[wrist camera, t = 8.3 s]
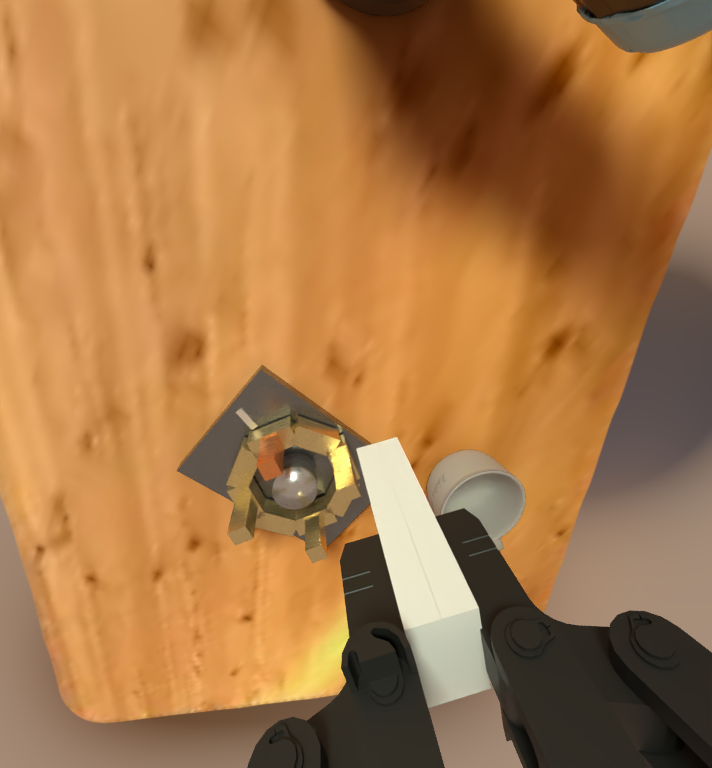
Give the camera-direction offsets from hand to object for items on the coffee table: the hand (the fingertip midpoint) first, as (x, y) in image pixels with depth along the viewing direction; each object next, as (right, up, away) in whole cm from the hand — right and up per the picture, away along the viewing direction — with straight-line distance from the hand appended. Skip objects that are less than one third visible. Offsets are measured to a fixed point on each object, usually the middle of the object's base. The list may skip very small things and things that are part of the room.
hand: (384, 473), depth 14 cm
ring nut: (-8, -7, +32) cm, 34 cm away
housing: (-9, -7, +33) cm, 35 cm away
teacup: (+13, -10, +38) cm, 42 cm away
